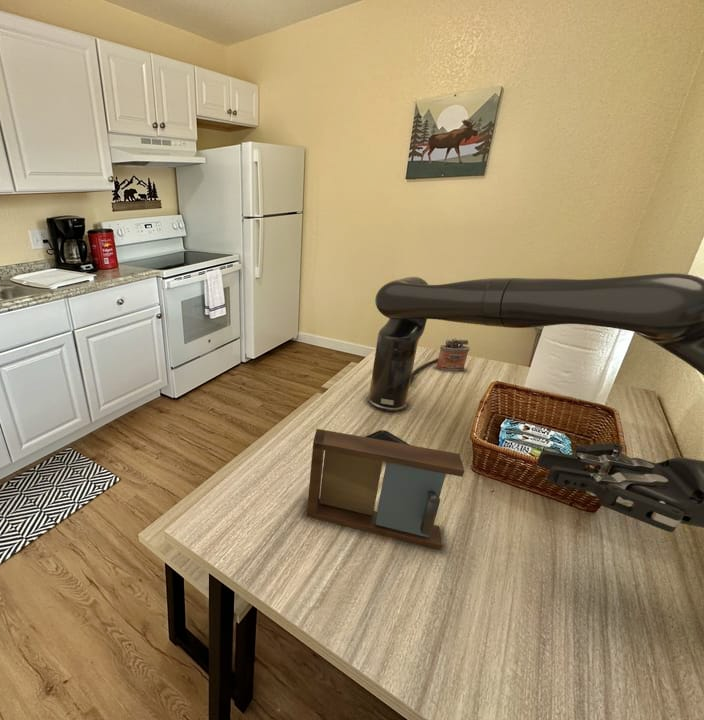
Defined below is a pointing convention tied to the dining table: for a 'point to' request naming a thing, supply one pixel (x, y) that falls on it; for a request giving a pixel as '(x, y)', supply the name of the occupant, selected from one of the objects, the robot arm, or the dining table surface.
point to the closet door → (409, 499)
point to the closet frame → (366, 480)
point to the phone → (386, 437)
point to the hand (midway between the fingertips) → (545, 466)
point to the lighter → (453, 355)
